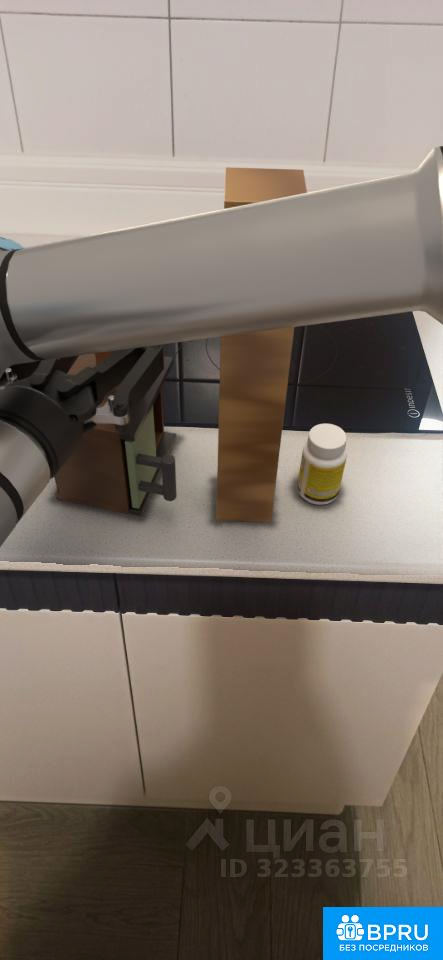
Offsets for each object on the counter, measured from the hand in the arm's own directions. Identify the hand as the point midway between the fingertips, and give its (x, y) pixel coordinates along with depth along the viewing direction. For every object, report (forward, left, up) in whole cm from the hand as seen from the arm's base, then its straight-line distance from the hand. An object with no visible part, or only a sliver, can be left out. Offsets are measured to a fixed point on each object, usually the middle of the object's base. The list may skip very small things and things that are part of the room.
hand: (140, 302), depth 67 cm
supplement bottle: (-21, -3, -19) cm, 29 cm away
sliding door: (-6, +7, -18) cm, 20 cm away
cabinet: (+1, +6, -19) cm, 20 cm away
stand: (-14, +3, -19) cm, 24 cm away
